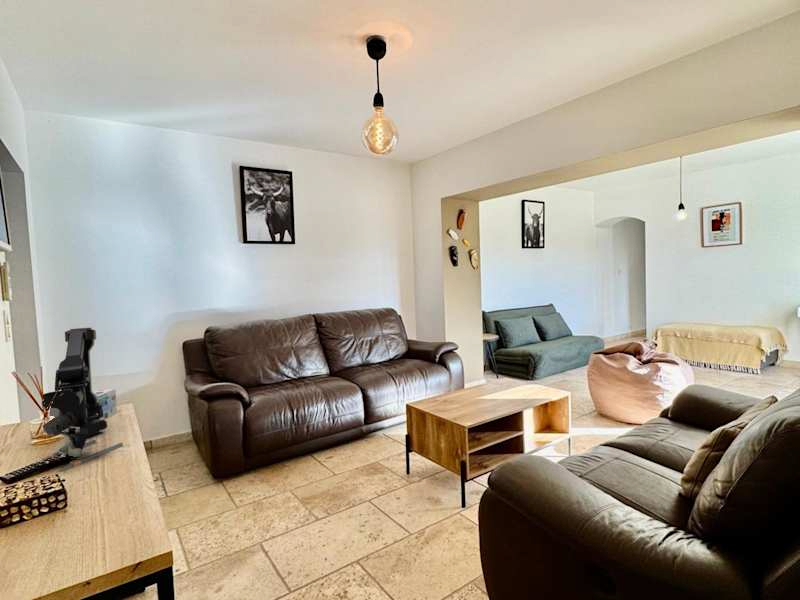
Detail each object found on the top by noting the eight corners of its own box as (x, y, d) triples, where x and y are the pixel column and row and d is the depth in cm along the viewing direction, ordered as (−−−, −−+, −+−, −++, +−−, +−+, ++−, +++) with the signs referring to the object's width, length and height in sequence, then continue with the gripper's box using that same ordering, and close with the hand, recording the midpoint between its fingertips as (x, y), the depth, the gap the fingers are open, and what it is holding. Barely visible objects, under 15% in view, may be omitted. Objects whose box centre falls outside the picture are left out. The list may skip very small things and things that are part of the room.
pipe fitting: (76, 450, 128) (51, 450, 127) (76, 462, 129) (52, 462, 127) (90, 437, 136) (67, 437, 134) (90, 448, 136) (67, 448, 135)
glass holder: (49, 430, 158) (46, 391, 157) (93, 424, 162) (90, 387, 161) (37, 438, 149) (34, 397, 148) (83, 432, 153) (80, 393, 153)
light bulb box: (100, 421, 165) (98, 395, 165) (83, 422, 165) (81, 396, 164) (118, 413, 176) (116, 388, 175) (102, 413, 176) (100, 389, 175)
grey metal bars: (93, 443, 142) (93, 438, 142) (123, 446, 138) (123, 441, 138) (31, 468, 124) (30, 463, 124) (63, 472, 120) (63, 467, 120)
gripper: (25, 410, 125) (30, 460, 126) (69, 413, 120) (74, 465, 121) (63, 399, 136) (68, 445, 137) (106, 401, 131) (110, 449, 132)
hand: (79, 451), depth 131 cm, fingers closed, pressing on pipe fitting
